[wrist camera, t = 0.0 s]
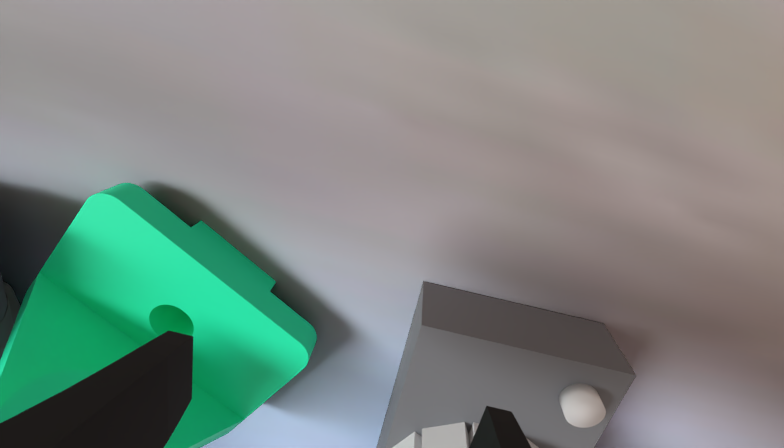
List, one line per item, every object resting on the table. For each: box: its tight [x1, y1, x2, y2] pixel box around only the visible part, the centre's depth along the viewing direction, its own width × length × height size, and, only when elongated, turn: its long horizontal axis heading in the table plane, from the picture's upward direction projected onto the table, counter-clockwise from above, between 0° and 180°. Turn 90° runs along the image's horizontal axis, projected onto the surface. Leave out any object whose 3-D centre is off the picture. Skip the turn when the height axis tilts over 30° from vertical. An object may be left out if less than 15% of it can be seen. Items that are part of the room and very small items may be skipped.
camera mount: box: [0, 183, 317, 448], centre depth 17 cm, size 12×8×10 cm, turn 46°
